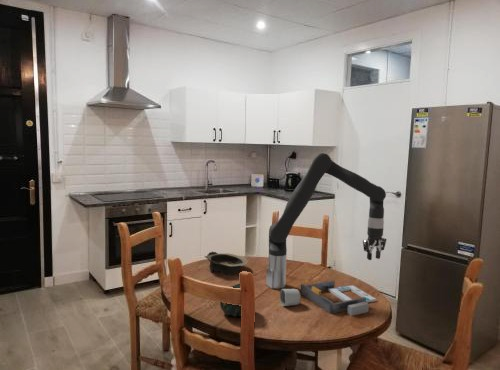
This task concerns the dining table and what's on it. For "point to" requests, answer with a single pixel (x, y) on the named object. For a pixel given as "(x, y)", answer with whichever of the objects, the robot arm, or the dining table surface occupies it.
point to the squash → (231, 306)
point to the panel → (358, 308)
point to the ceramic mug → (290, 297)
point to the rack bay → (315, 295)
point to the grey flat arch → (354, 289)
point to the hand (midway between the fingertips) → (373, 258)
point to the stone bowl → (225, 262)
